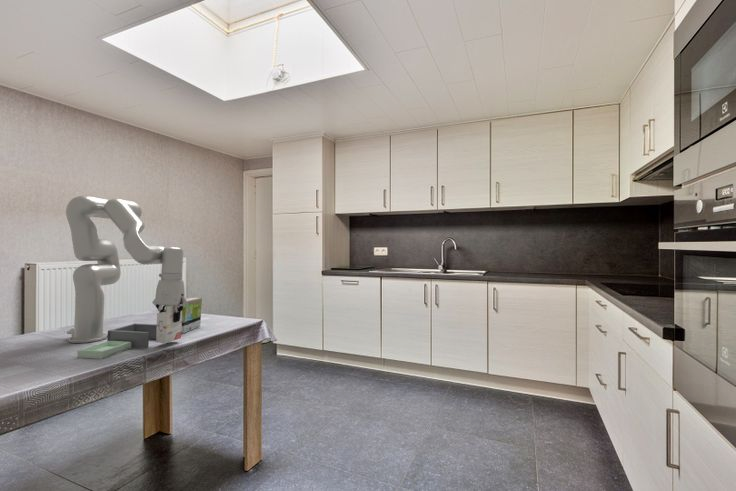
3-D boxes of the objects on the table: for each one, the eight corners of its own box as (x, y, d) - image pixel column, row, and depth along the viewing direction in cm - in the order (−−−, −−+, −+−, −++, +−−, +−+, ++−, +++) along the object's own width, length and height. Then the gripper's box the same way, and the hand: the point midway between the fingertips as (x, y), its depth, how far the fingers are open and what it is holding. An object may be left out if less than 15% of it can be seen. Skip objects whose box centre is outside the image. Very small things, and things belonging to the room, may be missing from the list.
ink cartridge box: (171, 337, 145) (173, 302, 145) (181, 338, 144) (183, 303, 144) (154, 342, 136) (156, 305, 137) (165, 343, 135) (167, 306, 136)
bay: (107, 346, 135) (107, 330, 135) (134, 337, 149) (134, 323, 149) (146, 348, 134) (146, 332, 134) (169, 339, 147) (170, 325, 148)
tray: (77, 357, 121) (77, 350, 121) (108, 346, 134) (108, 340, 134) (102, 358, 120) (102, 351, 120) (131, 348, 133) (131, 341, 133)
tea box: (184, 333, 157) (186, 301, 157) (163, 333, 157) (164, 301, 158) (201, 326, 172) (202, 297, 173) (181, 325, 172) (182, 296, 173)
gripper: (145, 276, 137) (143, 321, 137) (185, 278, 136) (183, 324, 136) (158, 275, 145) (156, 318, 145) (196, 277, 143) (194, 320, 143)
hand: (169, 320), depth 140 cm, fingers closed on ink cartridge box, 5 cm apart
